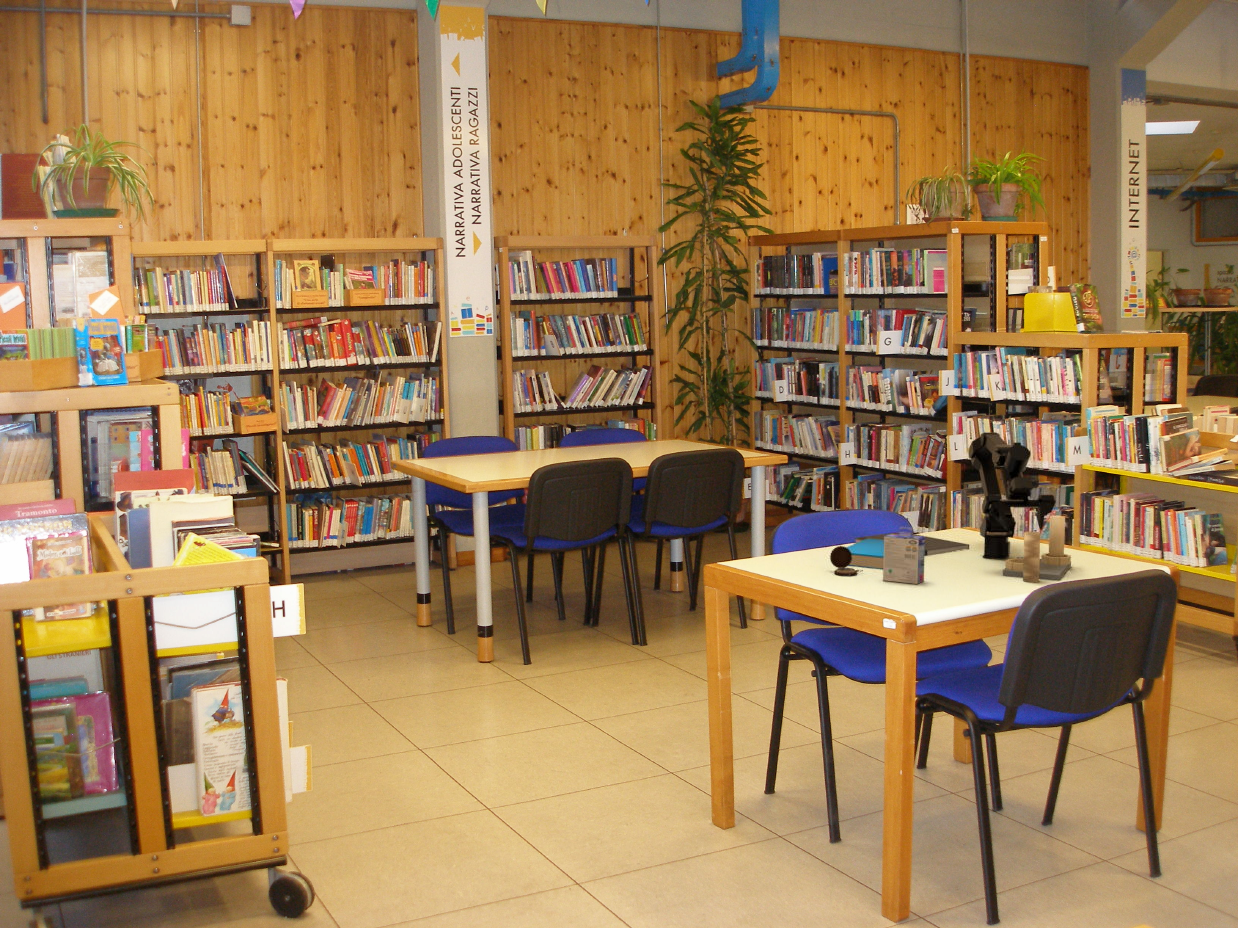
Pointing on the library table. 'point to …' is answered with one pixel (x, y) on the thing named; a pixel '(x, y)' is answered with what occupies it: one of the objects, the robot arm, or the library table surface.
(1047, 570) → the board
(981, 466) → the robot arm
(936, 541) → the notebook
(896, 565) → the ink cartridge box
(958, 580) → the library table surface
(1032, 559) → the pin
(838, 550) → the compass
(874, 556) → the book
